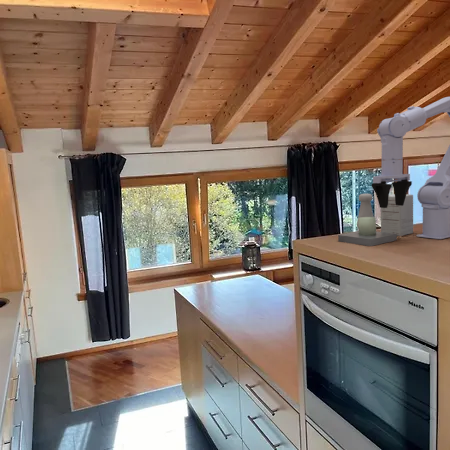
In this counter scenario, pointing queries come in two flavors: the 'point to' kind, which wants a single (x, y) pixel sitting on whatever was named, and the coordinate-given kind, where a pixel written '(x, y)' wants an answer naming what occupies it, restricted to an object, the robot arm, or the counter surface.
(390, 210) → the supplement box
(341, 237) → the slate base
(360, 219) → the green cylinder
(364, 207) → the salt shaker
